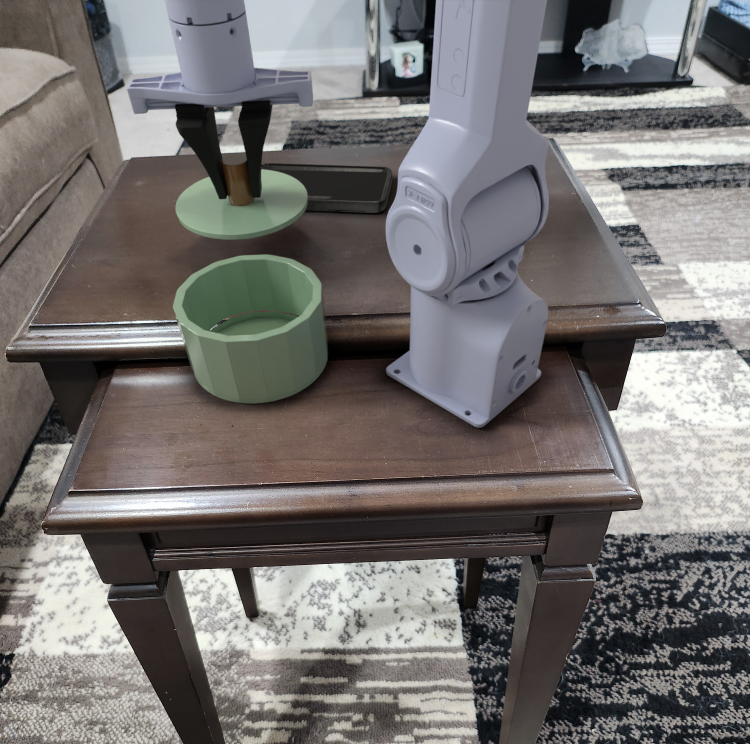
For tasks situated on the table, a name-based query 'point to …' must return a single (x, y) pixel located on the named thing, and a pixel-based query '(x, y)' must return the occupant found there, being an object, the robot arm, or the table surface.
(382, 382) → the table surface
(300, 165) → the phone
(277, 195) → the pot lid
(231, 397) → the pot
